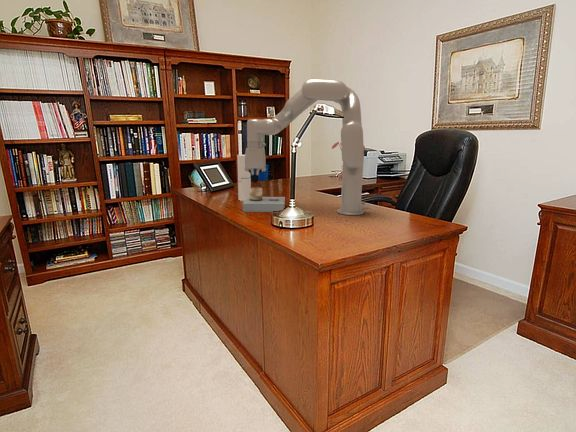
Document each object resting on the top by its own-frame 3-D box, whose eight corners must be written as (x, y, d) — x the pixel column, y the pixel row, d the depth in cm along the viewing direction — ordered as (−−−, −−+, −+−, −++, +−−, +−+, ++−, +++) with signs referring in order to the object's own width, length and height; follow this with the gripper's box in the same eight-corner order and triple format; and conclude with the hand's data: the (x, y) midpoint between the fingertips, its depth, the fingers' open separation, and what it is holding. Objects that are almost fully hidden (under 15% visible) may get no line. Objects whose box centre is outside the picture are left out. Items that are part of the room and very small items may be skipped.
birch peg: (263, 206, 181) (262, 187, 179) (262, 208, 175) (261, 189, 172) (250, 206, 181) (250, 187, 179) (249, 208, 175) (248, 189, 172)
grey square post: (248, 201, 194) (247, 155, 188) (236, 200, 196) (235, 155, 190) (252, 198, 201) (251, 154, 195) (240, 198, 202) (239, 154, 196)
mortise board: (284, 204, 186) (284, 197, 185) (284, 212, 169) (284, 203, 168) (247, 204, 187) (247, 196, 186) (242, 211, 169) (242, 203, 168)
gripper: (270, 145, 174) (270, 182, 178) (240, 144, 174) (241, 181, 179) (269, 146, 167) (269, 184, 171) (238, 145, 167) (239, 183, 171)
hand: (255, 182), depth 175 cm, fingers closed
